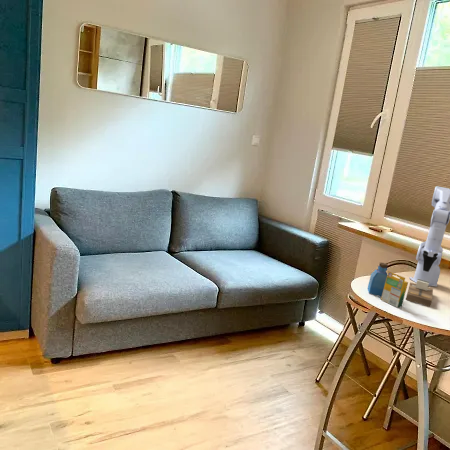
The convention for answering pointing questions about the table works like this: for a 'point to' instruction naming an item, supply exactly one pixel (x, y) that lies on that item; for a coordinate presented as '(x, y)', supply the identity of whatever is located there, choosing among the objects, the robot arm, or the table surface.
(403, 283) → the crayon box
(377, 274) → the perfume bottle
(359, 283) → the table surface
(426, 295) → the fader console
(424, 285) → the fader knob
